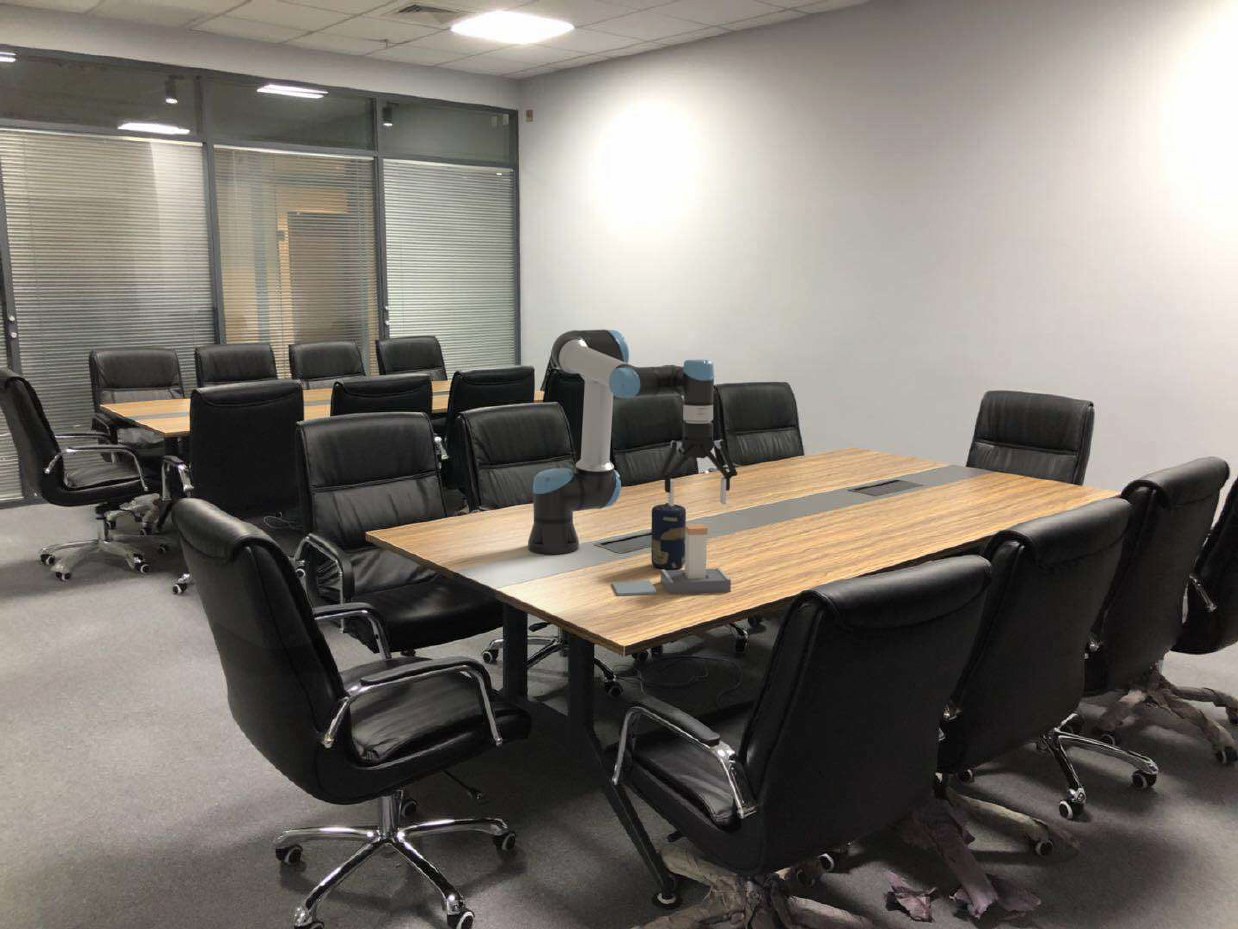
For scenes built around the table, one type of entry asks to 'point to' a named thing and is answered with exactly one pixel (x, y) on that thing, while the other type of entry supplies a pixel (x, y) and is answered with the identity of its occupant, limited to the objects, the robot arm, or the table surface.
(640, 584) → the pad
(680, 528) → the canister
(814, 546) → the table surface
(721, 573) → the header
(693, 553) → the plug
